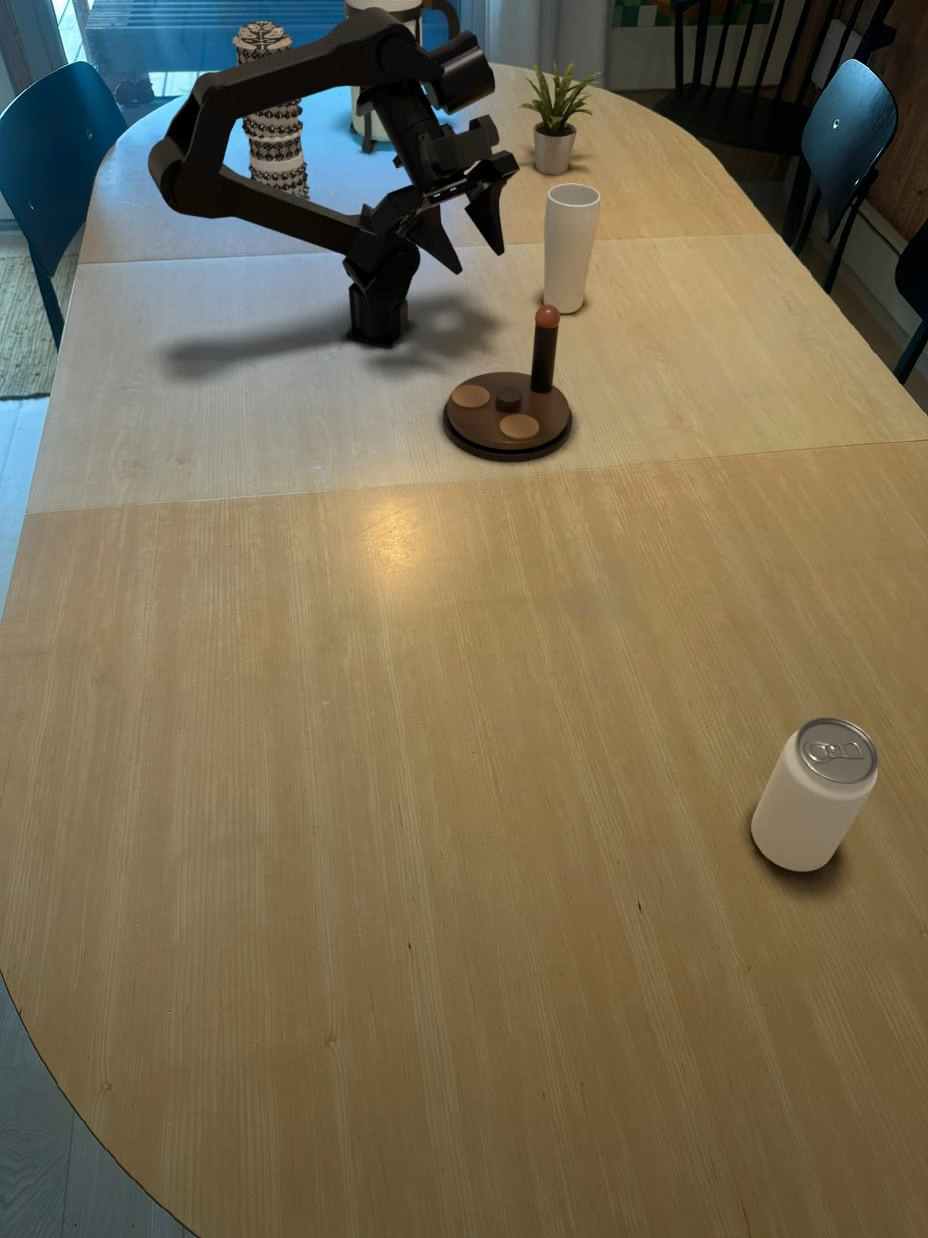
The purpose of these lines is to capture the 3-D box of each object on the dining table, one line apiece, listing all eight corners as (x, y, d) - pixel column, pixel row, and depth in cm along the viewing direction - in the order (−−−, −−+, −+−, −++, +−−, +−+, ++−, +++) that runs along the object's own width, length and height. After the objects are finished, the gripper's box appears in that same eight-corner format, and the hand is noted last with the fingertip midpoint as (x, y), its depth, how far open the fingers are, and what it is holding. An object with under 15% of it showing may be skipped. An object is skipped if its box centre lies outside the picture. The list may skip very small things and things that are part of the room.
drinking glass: (584, 320, 128) (598, 208, 117) (534, 314, 129) (543, 202, 118) (590, 295, 133) (604, 185, 122) (541, 289, 134) (550, 179, 123)
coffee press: (403, 164, 161) (398, -50, 139) (327, 142, 167) (311, -68, 145) (460, 131, 171) (464, -73, 149) (387, 111, 177) (380, -89, 155)
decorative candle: (325, 206, 150) (310, 24, 131) (287, 229, 144) (265, 42, 126) (279, 192, 153) (258, 11, 135) (240, 213, 148) (212, 28, 129)
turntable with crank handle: (508, 466, 105) (514, 375, 97) (422, 410, 112) (421, 320, 103) (593, 415, 112) (606, 326, 103) (507, 365, 118) (512, 277, 110)
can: (739, 804, 78) (778, 714, 69) (817, 799, 79) (865, 709, 70) (763, 877, 74) (807, 791, 65) (845, 871, 74) (900, 785, 65)
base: (422, 443, 110) (422, 435, 109) (470, 374, 119) (470, 367, 119) (548, 475, 106) (549, 468, 105) (587, 402, 116) (588, 395, 115)
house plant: (600, 190, 156) (614, 80, 144) (514, 188, 156) (521, 77, 144) (593, 154, 165) (606, 48, 153) (512, 152, 165) (519, 45, 153)
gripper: (382, 113, 96) (457, 260, 99) (513, 72, 105) (578, 207, 108) (338, 169, 106) (407, 301, 109) (462, 126, 115) (522, 249, 118)
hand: (481, 263), depth 110 cm, fingers open, 6 cm apart
